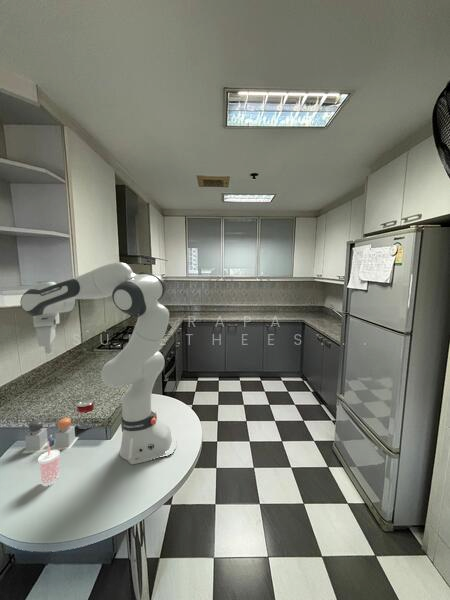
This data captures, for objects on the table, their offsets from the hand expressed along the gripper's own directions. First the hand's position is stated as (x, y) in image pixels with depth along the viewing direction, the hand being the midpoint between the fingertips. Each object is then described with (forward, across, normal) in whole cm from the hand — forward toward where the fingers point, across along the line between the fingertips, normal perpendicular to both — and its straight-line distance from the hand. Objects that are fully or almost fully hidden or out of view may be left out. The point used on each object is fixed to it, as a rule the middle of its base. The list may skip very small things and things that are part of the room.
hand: (48, 352), depth 104 cm
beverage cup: (+39, +26, +2) cm, 47 cm away
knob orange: (+38, +6, +5) cm, 38 cm away
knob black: (+38, +2, -5) cm, 38 cm away
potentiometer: (+38, +4, 0) cm, 38 cm away
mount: (+39, +4, 0) cm, 39 cm away
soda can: (+39, -5, +12) cm, 42 cm away
